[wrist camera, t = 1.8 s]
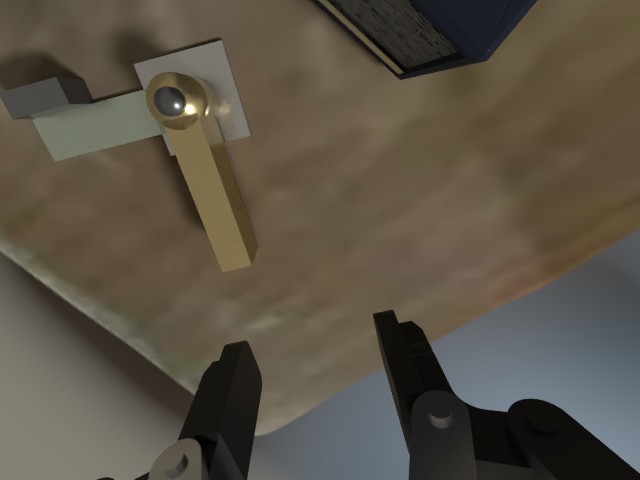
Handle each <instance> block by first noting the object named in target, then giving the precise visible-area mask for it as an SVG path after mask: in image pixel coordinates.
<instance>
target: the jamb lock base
mask: <svg viewBox="0 0 640 480" xmlns="http://www.w3.org/2000/svg"><path fill="white" fill-rule="evenodd" d="M134 67H135V69H136V72H137V74H138V77H139V79H140V81H141V84H142V86H143V89H144V90H140V91H137V92H133V93H129V94H125V95H122V96H118V97H114V98H111V99H107V100H103V101H99V102H96V103H94V101H93V99H92V96H91V94H90V92H89V90H88V88H87V86H86V84H85V81H84V79H73V78H63V77H54V78H50V79H46V80H43V81H39V82H36V83H32V84H28V85H25V86H21V87H17V88H14V89H10V90H6V91H3V92H0V97H1V99H2V101H3V103H4V104H5V106H6V108H7V110H8V111H9V113H10V115H11V117H12V118H13V120H14V119H29V118H36V119H32V121H33V123H34V125H35V126H36V128H37V130H38V132H39V134H40V135H41V137H42V139H43V141H44V143H45V145H46V146H47V148H48V150H49V152H50V154H51V155H52V157H53V159H54V161H59V160H63V159H67V158H71V157H75V156H79V155H83V154H87V153H91V152H94V151H98V150H102V149H106V148H110V147H114V146H118V145H122V144H126V143H130V142H133V141H137V140H141V139H145V138H149V137H153V136H157V135H161V134H162V135H163V138H164V140H165V143H166V145H167V148H168V150H169V152H170V155H171V156H173V155H175V152H174V150H173V147H172V145H171V142H170V140H169V137H168V135H167V132H166V130H165V128H164V126H163V125H161V124H160V123H159V122H157V121H156V120H155V118H154V117H153V116H152V114H151V113H150V111H149V109H148V106H147V102H146V89H147V86H148V84H149V82H150V81H151V79H152V78H153V77H154V76H156V75H157V74H159V73H162V72H176V73H181V74H186V75H190V76H195V77H198V78H200V79H202V80H204V81H205V82H206V83H207V84H208V85H209V86H210V87H211V88H212V90H213V92H214V94H215V97H216V103H217V106H216V112H215V114H214V116H215V118H216V121H217V124H218V127H219V130H220V133H221V136H222V139H223V142H228V141H232V140H236V139H240V138H244V137H248V136H251V132H250V129H249V125H248V122H247V119H246V116H245V112H244V109H243V106H242V102H241V99H240V96H239V93H238V89H237V86H236V83H235V79H234V76H233V73H232V70H231V66H230V63H229V60H228V56H227V53H226V50H225V47H224V43H223V41H222V40H220V41H216V42H213V43H209V44H205V45H202V46H198V47H194V48H191V49H187V50H183V51H180V52H176V53H172V54H169V55H165V56H161V57H158V58H154V59H150V60H147V61H143V62H139V63H136V64H134ZM154 103H155V106H156V108H157V109H158V111H159V112H160V113H161V114H163V115H165V116H168V117H174V116H179V115H181V114H182V113H183V112H184V111H185V109H186V99H185V96H184V95H183V93H182V92H181V91H180V90H178V89H177V88H174V87H168V86H164V87H161V88H159V89H158V90H157V91H156V92H155V95H154Z"/></svg>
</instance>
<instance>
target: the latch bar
mask: <svg viewBox="0 0 640 480" xmlns="http://www.w3.org/2000/svg"><path fill="white" fill-rule="evenodd" d="M164 86H168V87H174V88H177V89H178V90H180V91H181V92H182V93H183V95H184V96H185V99H186V109H185V111H184V112H183V113H182V114H181V115H179V116H174V117H168V116H165V115H163V114H161V113H160V112H159V111H158V109H157V108H156V106H155V103H154V95H155V92H156V91H157V90H158V89H159V88H161V87H164ZM146 102H147V106H148V109H149V111H150V113H151V114H152V116H153V117H154V118H155V120H156V121H157V122H159V123H160V124H161V125H163V126H164V128H165V130H166V132H167V135H168V137H169V140H170V142H171V145H172V147H173V150H174V152H175V155H176V157H177V160H178V162H179V165H180V167H181V170H182V172H183V175H184V177H185V180H186V182H187V185H188V187H189V190H190V192H191V195H192V197H193V200H194V202H195V205H196V207H197V210H198V212H199V215H200V217H201V220H202V222H203V224H204V227H205V229H206V232H207V234H208V237H209V239H210V242H211V244H212V247H213V249H214V252H215V254H216V257H217V259H218V262H219V264H220V267H221V269H222V272H226V271H230V270H235V269H239V268H243V267H248V266H252V264H253V261H254V258H255V255H256V252H257V249H258V246H259V245H258V242H257V239H256V236H255V233H254V230H253V227H252V224H251V221H250V219H249V216H248V213H247V210H246V207H245V204H244V201H243V198H242V195H241V192H240V189H239V186H238V183H237V180H236V177H235V174H234V171H233V169H232V166H231V163H230V160H229V157H228V154H227V151H226V148H225V145H224V142H223V139H222V136H221V133H220V130H219V127H218V124H217V121H216V118H215V116H214V114H215V112H216V106H217V103H216V97H215V94H214V92H213V90H212V88H211V87H210V86H209V85H208V84H207V83H206V82H205V81H204V80H202V79H200V78H198V77H195V76H190V75H186V74H181V73H176V72H162V73H159V74H157V75H156V76H154V77H153V78H152V79H151V81H150V82H149V84H148V86H147V89H146Z"/></svg>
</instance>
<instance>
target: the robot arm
mask: <svg viewBox="0 0 640 480" xmlns="http://www.w3.org/2000/svg"><path fill="white" fill-rule="evenodd" d="M373 318H374V323H375V328H376V333H377V337H378V342H379V347H380V351H381V356H382V360H383V363H384V367H385V371H386V374H387V378H388V381H389V384H390V388H391V392H392V395H393V399H394V402H395V406H396V409H397V413H398V416H399V420H400V424H401V427H402V431H403V434H404V438H405V441H406V445H407V448H408V452H409V454H410V464H409V480H640V473H638V472H637V471H636V470H635V469H633V468H632V467H631V466H630V465H629V464H627V463H626V462H625V461H624V460H623V459H621V458H620V457H619V456H618V455H617V454H615V453H614V452H613V451H612V450H610V449H609V448H608V447H607V446H606V445H605V444H603V443H602V442H601V441H600V440H599V439H597V438H596V437H595V436H593V435H592V434H591V433H590V432H589V431H588V430H586V429H585V428H584V427H583V426H582V425H580V424H579V423H578V422H577V421H576V420H574V419H573V418H572V417H571V416H570V415H568V414H567V413H566V412H565V411H563V410H562V409H560V408H559V407H557V406H555V405H553V404H551V403H549V402H546V401H543V400H538V399H523V400H519V401H517V402H515V403H514V404H512V405H511V406H510V408H509V410H508V412H502V411H493V410H484V409H479V408H476V407H473V406H471V405H469V404H467V403H465V402H464V401H462V400H461V399H459V398H458V397H457V396H456V395H455V393H454V392H453V390H452V389H451V387H450V385H449V383H448V381H447V379H446V377H445V375H444V372H443V370H442V368H441V367H440V365H439V362H438V361H437V358H436V356H435V354H434V353H433V351H432V348H431V346H430V344H429V343H428V340H427V338H426V336H425V334H424V332H423V330H422V329H421V328H420V327H419V326H417V325H416V324H415V323H414V322H412V321H408V322H404V323H398V321H397V318H396V316H395V313H394V311H393V310H389V311H384V312H379V313H374V314H373ZM198 388H199V389H198V390H197V392H196V394H195V397H194V400H193V402H192V405H191V407H190V410H189V412H188V415H187V418H186V420H185V423H184V426H183V428H182V430H181V433H180V436H179V438H178V441H176V442H175V443H173V444H171V445H170V446H168V447H167V448H166V449H165V450H164V451H163V452H162V453H161V454H160V455H159V456H158V457H157V458H156V460H155V462H154V463H153V465H152V467H151V469H150V472H148V473H146V474H144V475H142V476H140V477H138V478H136V479H135V480H247V477H248V470H249V464H250V458H251V452H252V446H253V440H254V434H255V428H256V422H257V416H258V409H259V403H260V397H261V391H262V378H261V373H260V370H259V367H258V365H257V363H256V360H255V358H254V355H253V353H252V350H251V348H250V345H249V343H248V342H247V341H241V342H236V343H231V344H227V345H225V346H224V348H223V351H222V354H221V357H220V360H219V361H215V362H213V363H212V364H211V365H210V366H209V368H208V369H207V370H206V371H205V373H204V374H203V376H202V379H201V381H200V384H199V387H198ZM98 480H114V479H112V478H108V477H105V478H101V479H98Z"/></svg>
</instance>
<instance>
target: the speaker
mask: <svg viewBox="0 0 640 480" xmlns="http://www.w3.org/2000/svg"><path fill="white" fill-rule="evenodd" d="M314 1H315V2H316V3H317V4H318V5H319V6H320V7H321V8H322V9H323V10H325V11H326V12H327V13H328V14H329V15H330V16H331V17H332V18H333V19H334V20H335V21H337V22H338V23H339V24H340V25H341V26H342V27H343V28H344V29H345V30H346V31H347V32H348V33H350V34H351V35H352V36H353V37H354V38H355V39H356V40H357V41H358V42H359V43H360V44H362V45H363V46H364V47H365V48H366V49H367V50H368V51H369V52H370V53H371V54H372V55H374V56H375V57H376V58H377V59H378V60H379V61H380V62H381V63H382V64H383V65H384V66H386V67H387V68H388V69H389V70H390V71H391V72H392V73H393V74H394V75H395V76H396V77H398V78H399V79H400V80H402V79H407V78H411V77H416V76H420V75H425V74H429V73H434V72H439V71H443V70H448V69H452V68H457V67H461V66H466V65H470V64H475V63H479V62H484V61H487V60H488V59H489V58H490V56H491V55H492V54H493V53H494V52H495V50H496V49H497V48H498V47H499V46H500V44H501V43H502V42H503V41H504V40H505V38H506V37H507V36H508V35H509V34H510V32H511V31H512V30H513V29H514V28H515V27H516V25H517V24H518V23H519V22H520V21H521V19H522V18H523V17H524V16H525V15H526V13H527V12H528V11H529V10H530V9H531V7H532V6H533V5H534V4H535V3H536V1H537V0H314Z"/></svg>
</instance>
